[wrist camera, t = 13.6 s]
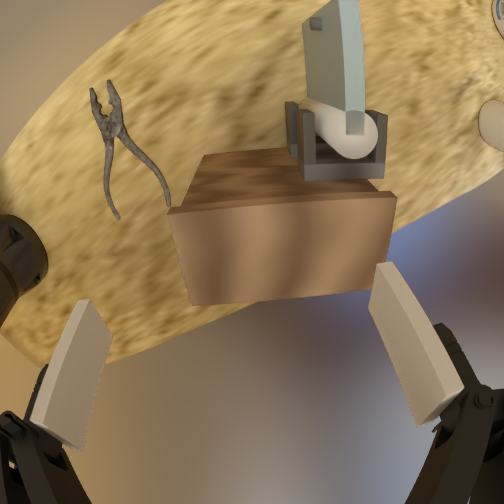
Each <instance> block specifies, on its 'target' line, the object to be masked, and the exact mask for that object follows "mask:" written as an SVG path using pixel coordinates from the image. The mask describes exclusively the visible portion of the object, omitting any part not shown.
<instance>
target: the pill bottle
mask: <svg viewBox="0 0 504 504" xmlns="http://www.w3.org/2000/svg"><path fill="white" fill-rule="evenodd" d="M479 130H480V133H481V136H482V138H483V139H484V141H485V142H486V143H488V144H489V145H491V146H492V147H494V148H496V149H498V150H500V151H502V152H504V103H503V102H499V101H495V100H490V101H487V102H486V103H485V104H484V105H483V106H482V108H481V110H480V114H479Z"/></svg>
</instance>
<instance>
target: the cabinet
mask: <svg viewBox="0 0 504 504" xmlns="http://www.w3.org/2000/svg"><path fill="white" fill-rule="evenodd" d="M285 110H286V127H287V146H288V148H273V149H260V150H248V151H238V152H228V153H219V154H211V155H204V156H203V158H202V161H201V163H200V165H199V167H198V169H197V171H196V174H195V176H194V178H193V180H192V182H191V185H190V187H189V189H188V191H187V194H186V196H185V198H184V201H183V203H182V205H181V206H180V207H172V208H170V210H169V212H168V214H167V216H168V221H169V224H170V228H171V232H172V236H173V240H174V244H175V248H176V251H177V255H178V259H179V262H180V266H181V269H182V273H183V276H184V280H185V283H186V286H187V290H188V293H189V296H190V300H191V303H192V306H197V305H214V304H229V303H243V302H255V301H267V300H278V299H289V298H299V297H309V296H318V295H328V294H336V293H345V292H353V291H361V290H368V289H372V287H373V282H374V277H375V271H376V265H377V264H378V263H385V262H386V258H387V253H388V248H389V243H390V238H391V232H392V227H393V221H394V215H395V209H396V202H397V197H396V196H395V195H394V194H393V193H392V192H391V191H378V190H377V189H376V188H375V187H374V186H373V185H372V184H371V183H370V182H369V181H368V180H367V179H384V171H385V158H386V144H387V123H388V115H385V114H383V113H380V112H377V111H374V110H365V113H366V114H368V115H369V116H370V117H371V118H372V119H373V120H374V122H375V124H376V126H377V130H378V139H377V143H376V145H375V147H374V149H373V150H372V151H371V152H370V153H369V154H368V155H366V156H365V157H362V158H359V159H350V158H346V157H344V156H342V155H341V154H339V153H338V152H337V151H336V150H335V149H334V148H333V147H331V146H330V145H329V144H328V143H327V142H326V141H325V140H323V139H322V138H315V113H314V112H312V111H310V110H308V109H299V108H298V104H297V103H295V102H285Z"/></svg>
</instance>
